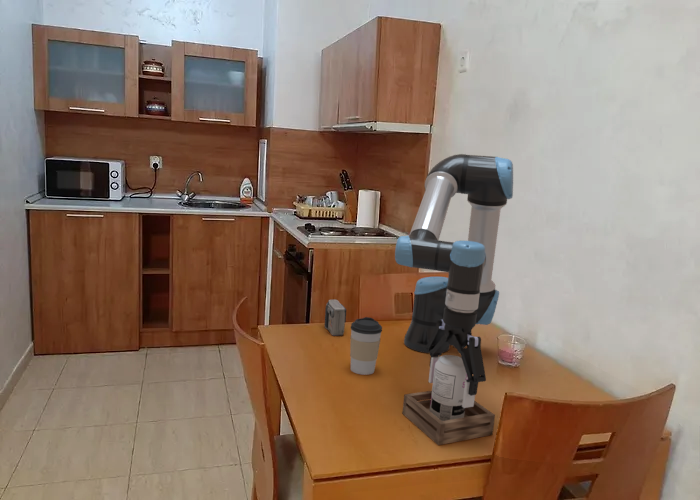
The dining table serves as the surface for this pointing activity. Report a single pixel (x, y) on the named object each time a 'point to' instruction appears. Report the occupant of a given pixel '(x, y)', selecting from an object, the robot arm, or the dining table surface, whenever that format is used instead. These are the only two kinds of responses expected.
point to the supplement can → (448, 388)
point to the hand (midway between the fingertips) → (449, 393)
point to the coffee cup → (364, 345)
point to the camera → (335, 317)
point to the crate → (448, 431)
